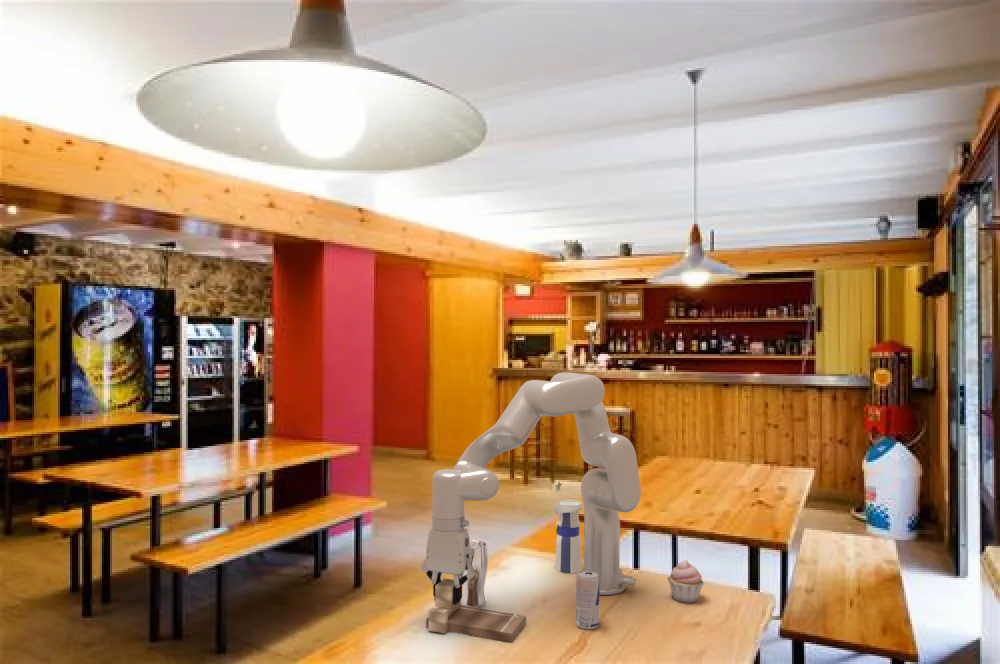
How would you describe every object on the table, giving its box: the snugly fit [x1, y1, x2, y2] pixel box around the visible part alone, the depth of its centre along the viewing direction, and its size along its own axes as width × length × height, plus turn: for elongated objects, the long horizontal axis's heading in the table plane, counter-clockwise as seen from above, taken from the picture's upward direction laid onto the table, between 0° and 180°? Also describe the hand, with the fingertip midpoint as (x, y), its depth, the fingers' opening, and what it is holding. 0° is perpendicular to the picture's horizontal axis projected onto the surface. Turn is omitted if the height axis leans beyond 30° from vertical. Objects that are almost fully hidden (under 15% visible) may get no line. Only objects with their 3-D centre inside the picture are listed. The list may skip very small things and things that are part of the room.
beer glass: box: [461, 539, 489, 609], centre depth 170 cm, size 7×7×15 cm
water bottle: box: [554, 480, 584, 575], centre depth 195 cm, size 8×9×25 cm
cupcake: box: [667, 559, 705, 604], centre depth 174 cm, size 9×9×10 cm
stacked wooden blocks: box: [428, 577, 462, 634], centre depth 158 cm, size 4×11×9 cm, turn 160°
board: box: [425, 605, 527, 643], centre depth 157 cm, size 21×10×2 cm, turn 69°
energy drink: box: [575, 569, 600, 631], centre depth 158 cm, size 5×5×12 cm
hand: (447, 600), depth 158 cm, fingers closed on stacked wooden blocks, 4 cm apart
